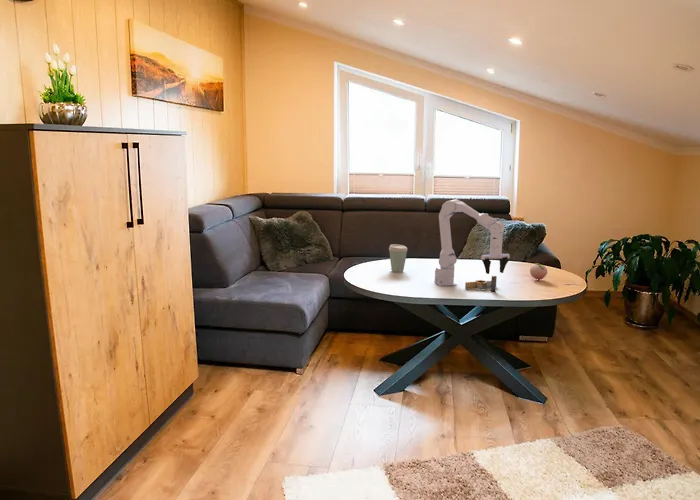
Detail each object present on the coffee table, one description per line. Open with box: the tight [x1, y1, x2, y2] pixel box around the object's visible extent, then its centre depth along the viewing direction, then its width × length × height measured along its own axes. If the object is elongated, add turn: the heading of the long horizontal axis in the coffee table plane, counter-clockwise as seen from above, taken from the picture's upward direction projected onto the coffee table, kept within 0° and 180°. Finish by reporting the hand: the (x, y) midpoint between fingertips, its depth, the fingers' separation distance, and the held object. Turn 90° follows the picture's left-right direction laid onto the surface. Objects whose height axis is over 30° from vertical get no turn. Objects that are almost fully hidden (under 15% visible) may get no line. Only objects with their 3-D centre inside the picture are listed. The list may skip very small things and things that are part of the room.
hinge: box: [464, 279, 491, 291], centre depth 283 cm, size 17×6×4 cm, turn 104°
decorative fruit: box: [529, 262, 548, 281], centre depth 299 cm, size 9×8×10 cm
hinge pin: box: [490, 275, 497, 293], centre depth 276 cm, size 2×2×8 cm
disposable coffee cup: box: [388, 243, 408, 274], centre depth 313 cm, size 11×11×15 cm
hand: (494, 273), depth 275 cm, fingers open, 7 cm apart
